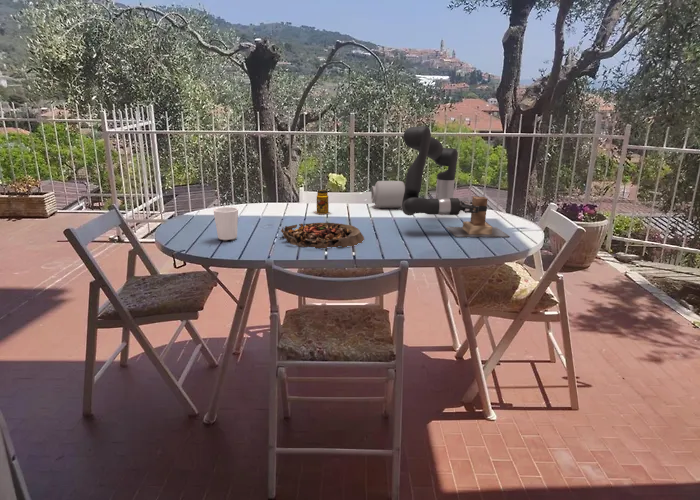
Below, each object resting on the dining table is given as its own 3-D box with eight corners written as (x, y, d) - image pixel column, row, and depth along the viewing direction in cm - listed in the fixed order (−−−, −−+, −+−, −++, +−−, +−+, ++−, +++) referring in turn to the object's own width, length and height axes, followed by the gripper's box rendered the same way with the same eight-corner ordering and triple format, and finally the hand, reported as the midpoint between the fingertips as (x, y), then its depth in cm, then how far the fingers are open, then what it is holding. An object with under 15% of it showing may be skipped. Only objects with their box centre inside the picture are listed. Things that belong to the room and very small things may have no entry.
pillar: (473, 225, 217) (476, 198, 213) (470, 222, 221) (472, 196, 218) (484, 225, 217) (487, 198, 213) (481, 222, 222) (483, 196, 218)
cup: (227, 244, 197) (225, 213, 193) (210, 240, 202) (208, 210, 198) (244, 238, 205) (243, 208, 201) (227, 235, 210) (226, 205, 206)
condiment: (318, 215, 249) (318, 191, 246) (313, 211, 257) (312, 188, 253) (331, 214, 252) (331, 191, 248) (326, 210, 259) (326, 188, 256)
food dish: (266, 246, 199) (265, 228, 197) (303, 229, 229) (303, 212, 226) (346, 254, 186) (346, 234, 184) (374, 235, 216) (374, 217, 214)
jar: (406, 204, 255) (358, 196, 256) (401, 220, 268) (356, 212, 268) (409, 176, 265) (363, 168, 266) (404, 193, 278) (361, 185, 278)
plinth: (455, 237, 212) (456, 228, 211) (445, 228, 227) (446, 219, 226) (509, 237, 214) (510, 228, 212) (496, 228, 229) (497, 219, 228)
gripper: (452, 201, 208) (489, 201, 209) (444, 195, 221) (479, 195, 223) (451, 218, 210) (488, 218, 211) (442, 211, 224) (477, 211, 225)
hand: (483, 206), depth 217 cm, fingers open, 8 cm apart
